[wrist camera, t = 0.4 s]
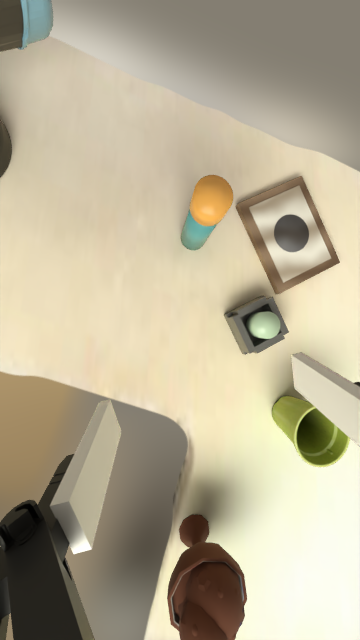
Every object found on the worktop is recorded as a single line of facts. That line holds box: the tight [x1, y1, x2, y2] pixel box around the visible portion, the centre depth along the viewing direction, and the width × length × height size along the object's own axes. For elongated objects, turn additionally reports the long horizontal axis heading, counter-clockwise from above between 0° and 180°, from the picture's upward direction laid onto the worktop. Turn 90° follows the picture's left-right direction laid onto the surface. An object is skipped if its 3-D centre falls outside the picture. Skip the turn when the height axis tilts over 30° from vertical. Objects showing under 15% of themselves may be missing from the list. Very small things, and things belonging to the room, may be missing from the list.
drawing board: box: [236, 176, 340, 294], centre depth 40 cm, size 18×14×2 cm
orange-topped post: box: [181, 175, 233, 250], centre depth 32 cm, size 5×5×13 cm
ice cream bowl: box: [167, 515, 247, 640], centre depth 30 cm, size 11×11×15 cm
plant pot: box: [272, 396, 350, 467], centre depth 36 cm, size 9×9×9 cm
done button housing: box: [224, 296, 289, 354], centre depth 38 cm, size 8×8×4 cm
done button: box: [246, 312, 280, 339], centre depth 35 cm, size 4×4×3 cm
